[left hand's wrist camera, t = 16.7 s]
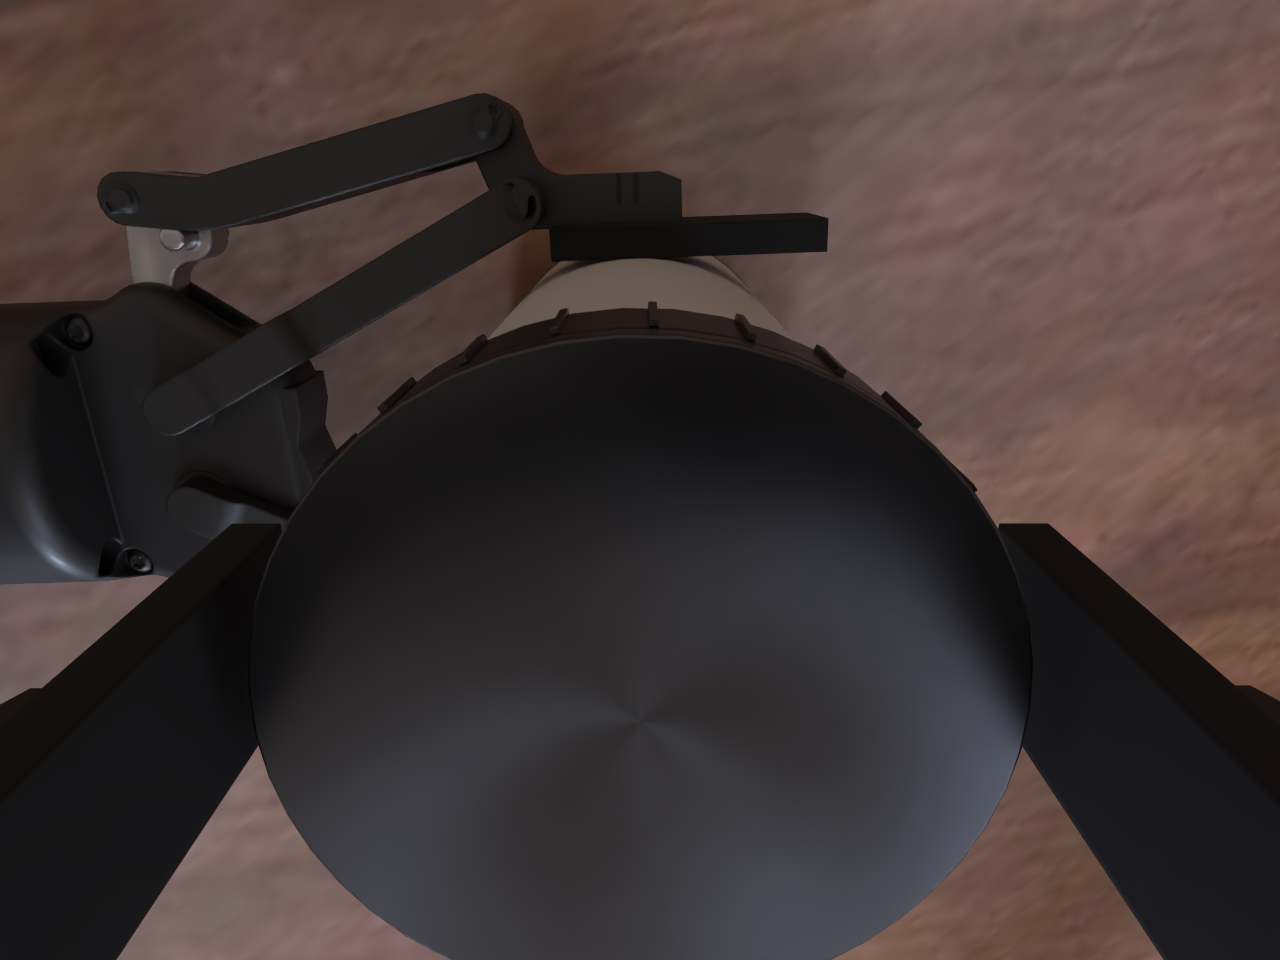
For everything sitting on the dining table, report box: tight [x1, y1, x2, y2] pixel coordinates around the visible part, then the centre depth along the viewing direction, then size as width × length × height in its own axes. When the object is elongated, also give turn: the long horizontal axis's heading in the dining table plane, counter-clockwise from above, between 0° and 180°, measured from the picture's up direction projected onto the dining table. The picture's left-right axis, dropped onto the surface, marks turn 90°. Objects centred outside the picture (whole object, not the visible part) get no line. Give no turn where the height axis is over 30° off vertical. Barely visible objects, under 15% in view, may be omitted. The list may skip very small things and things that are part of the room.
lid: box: [248, 301, 1033, 960], centre depth 11 cm, size 10×10×2 cm
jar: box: [487, 256, 795, 341], centre depth 20 cm, size 9×9×18 cm
